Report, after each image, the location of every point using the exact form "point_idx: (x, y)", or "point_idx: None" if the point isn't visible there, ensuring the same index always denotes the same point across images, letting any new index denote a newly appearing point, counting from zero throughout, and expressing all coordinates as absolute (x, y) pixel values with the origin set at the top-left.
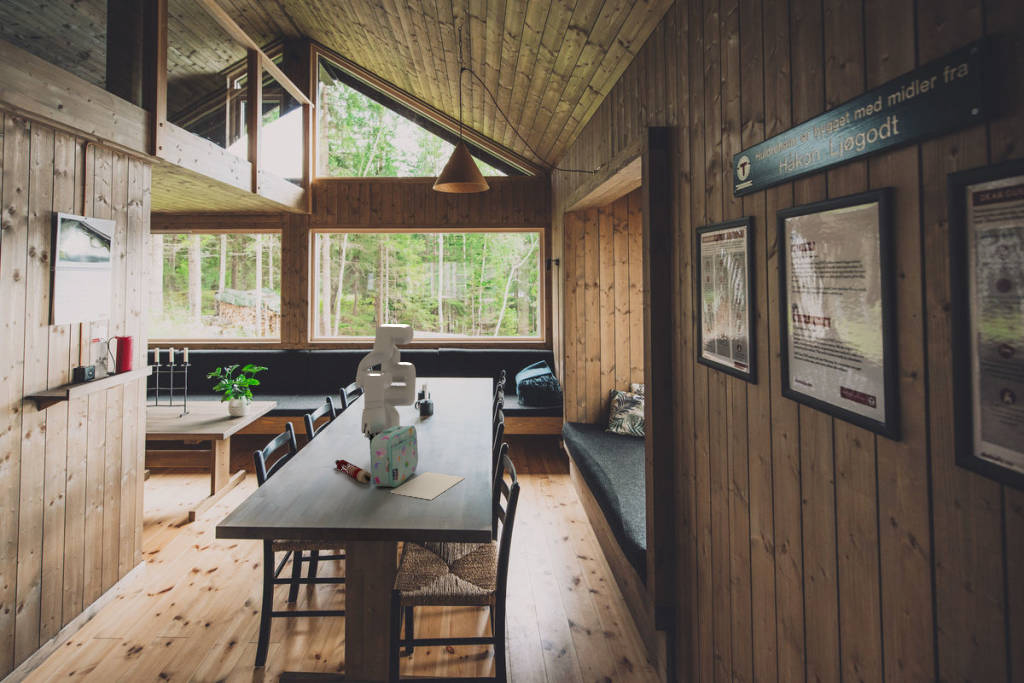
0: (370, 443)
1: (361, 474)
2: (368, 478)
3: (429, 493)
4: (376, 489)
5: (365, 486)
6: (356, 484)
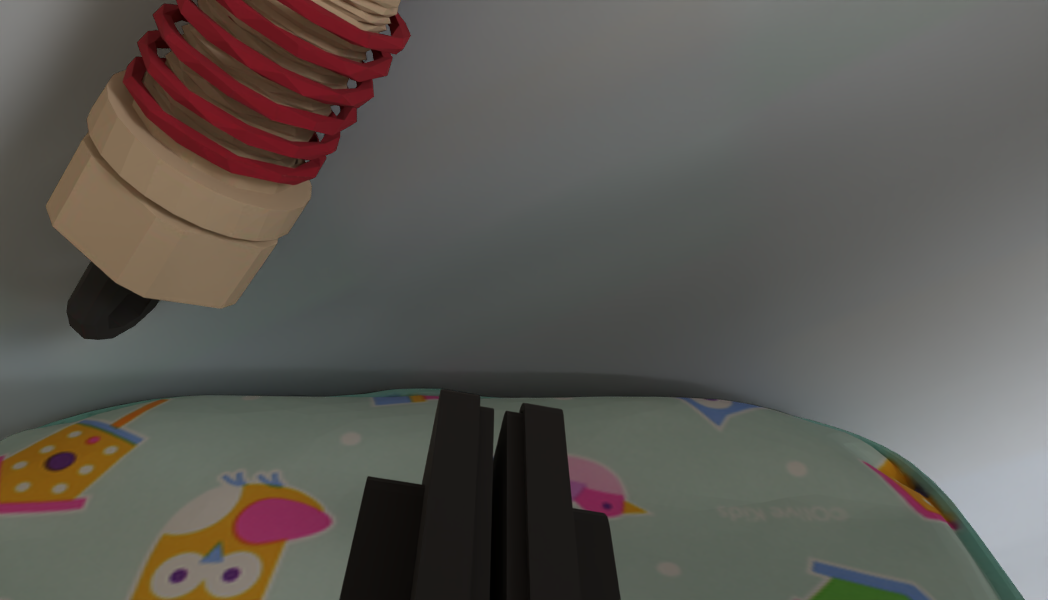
0: (348, 574)
1: (57, 209)
2: (74, 327)
3: None
4: None
5: (57, 259)
6: (68, 89)
